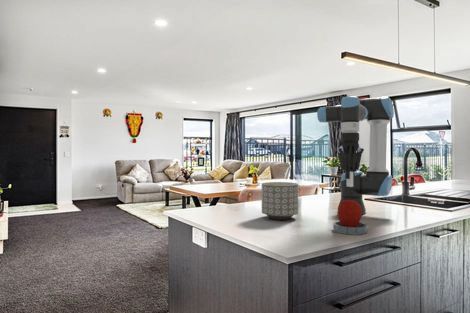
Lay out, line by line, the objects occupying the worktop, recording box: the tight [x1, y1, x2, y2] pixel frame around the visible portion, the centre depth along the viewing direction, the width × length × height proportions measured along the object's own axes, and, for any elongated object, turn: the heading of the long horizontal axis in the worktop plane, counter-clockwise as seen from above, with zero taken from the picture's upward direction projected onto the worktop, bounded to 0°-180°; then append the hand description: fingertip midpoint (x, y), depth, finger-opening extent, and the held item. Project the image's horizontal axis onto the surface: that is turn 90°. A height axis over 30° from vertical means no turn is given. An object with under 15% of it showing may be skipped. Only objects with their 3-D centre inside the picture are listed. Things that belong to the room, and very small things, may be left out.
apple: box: [337, 197, 363, 227], centre depth 148 cm, size 10×10×14 cm
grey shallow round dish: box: [332, 220, 368, 236], centre depth 148 cm, size 14×14×3 cm
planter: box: [261, 181, 299, 221], centre depth 177 cm, size 19×19×18 cm
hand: (349, 186), depth 148 cm, fingers closed
